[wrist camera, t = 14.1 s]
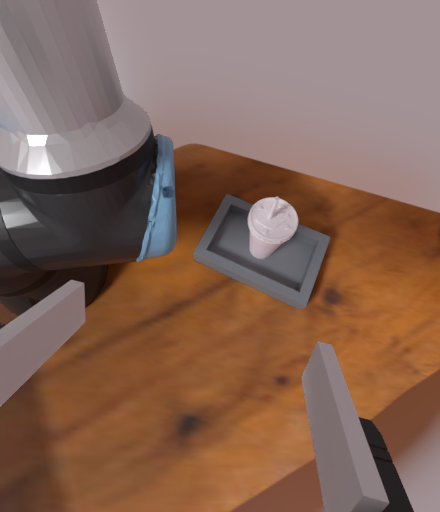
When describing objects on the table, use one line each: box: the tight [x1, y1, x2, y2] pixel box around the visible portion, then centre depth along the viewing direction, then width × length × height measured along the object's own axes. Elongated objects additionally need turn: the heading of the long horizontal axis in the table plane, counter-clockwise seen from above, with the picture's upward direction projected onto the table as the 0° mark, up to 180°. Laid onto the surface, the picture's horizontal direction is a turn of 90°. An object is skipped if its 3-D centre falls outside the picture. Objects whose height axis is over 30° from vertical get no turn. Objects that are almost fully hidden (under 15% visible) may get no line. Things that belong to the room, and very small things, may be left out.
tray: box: [193, 194, 331, 310], centre depth 41 cm, size 18×12×3 cm, turn 64°
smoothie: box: [248, 197, 298, 259], centre depth 35 cm, size 6×6×14 cm
